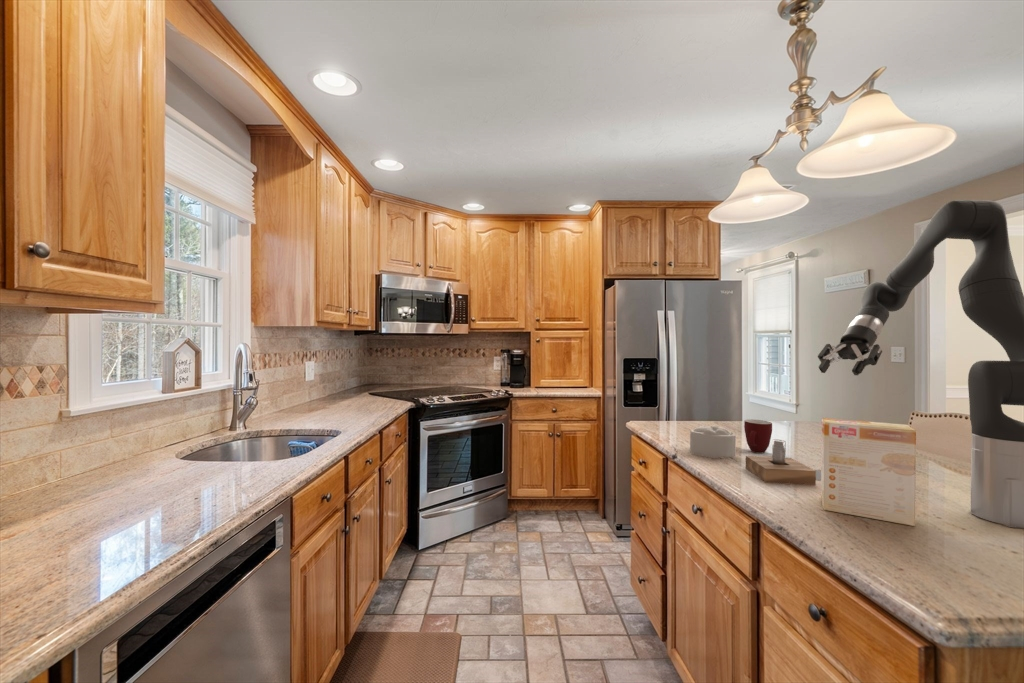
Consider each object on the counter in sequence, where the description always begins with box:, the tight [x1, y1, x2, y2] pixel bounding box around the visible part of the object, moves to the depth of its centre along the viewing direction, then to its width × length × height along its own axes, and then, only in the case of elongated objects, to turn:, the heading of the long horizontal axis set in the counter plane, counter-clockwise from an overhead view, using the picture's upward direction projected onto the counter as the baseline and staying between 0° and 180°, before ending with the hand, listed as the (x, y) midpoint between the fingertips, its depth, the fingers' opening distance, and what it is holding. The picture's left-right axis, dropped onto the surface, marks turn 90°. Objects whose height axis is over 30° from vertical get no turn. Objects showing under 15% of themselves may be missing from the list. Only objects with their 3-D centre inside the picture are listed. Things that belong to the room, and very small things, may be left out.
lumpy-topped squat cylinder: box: [689, 425, 737, 460], centre depth 136 cm, size 10×13×9 cm
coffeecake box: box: [820, 417, 917, 527], centre depth 90 cm, size 15×7×20 cm, turn 58°
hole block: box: [745, 455, 817, 486], centre depth 112 cm, size 12×12×4 cm
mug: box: [743, 419, 773, 454], centre depth 138 cm, size 11×8×10 cm
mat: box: [814, 469, 821, 482], centre depth 114 cm, size 10×8×1 cm
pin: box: [771, 439, 787, 465], centre depth 112 cm, size 3×3×10 cm
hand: (837, 372), depth 120 cm, fingers open, 8 cm apart
